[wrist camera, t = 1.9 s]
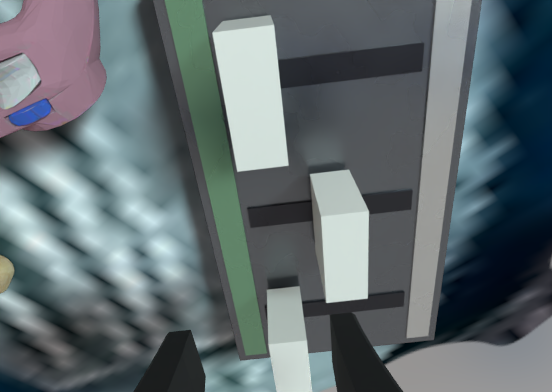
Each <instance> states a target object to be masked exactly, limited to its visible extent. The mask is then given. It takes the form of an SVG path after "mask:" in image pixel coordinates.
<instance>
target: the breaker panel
mask: <svg viewBox="0 0 552 392" xmlns="http://www.w3.org/2000/svg"><path fill="white" fill-rule="evenodd" d="M153 3H154V7H155V11H156V15H157V19H158V23H159V28H160V32H161V36H162V40H163V44H164V48H165V52H166V56H167V61H168V65H169V69H170V73H171V77H172V81H173V85H174V89H175V94H176V98H177V102H178V106H179V110H180V114H181V118H182V122H183V127H184V131H185V135H186V139H187V143H188V147H189V151H190V155H191V160H192V164H193V168H194V172H195V176H196V180H197V184H198V189H199V193H200V197H201V201H202V205H203V209H204V213H205V217H206V222H207V226H208V230H209V234H210V238H211V242H212V246H213V250H214V255H215V259H216V263H217V267H218V271H219V275H220V279H221V283H222V288H223V292H224V296H225V300H226V304H227V308H228V312H229V316H230V321H231V325H232V329H233V333H234V337H235V341H236V345H237V349H238V354H239V358H240V361H241V360H250V359H260V358H269V357H270V351H269V346H268V313H267V290H270V289H279V288H288V287H297V286H300V293H301V301H302V308H303V316H304V323H305V331H306V338H307V347H308V353H316V352H325V351H332V347H331V330H330V315H331V314H340V313H350V312H352V313H353V314H355V315H356V317H357V319H358V321H359V323H360V325H361V327H362V329H363V331H364V333H365V335H366V336H367V338H368V340H369V341H370V343H371V345H372V346H381V345H390V344H399V343H409V342H418V341H427V340H434V335H435V328H436V321H437V313H438V306H439V299H440V292H441V285H442V278H443V271H444V264H445V257H446V250H447V243H448V236H449V229H450V222H451V215H452V208H453V201H454V194H455V187H456V180H457V173H458V165H459V158H460V151H461V144H462V137H463V130H464V123H465V116H466V109H467V102H468V95H469V88H470V81H471V74H472V67H473V60H474V53H475V46H476V39H477V32H478V25H479V17H480V10H481V3H482V0H153ZM267 15H271V18H272V20H273V23H274V29H275V39H276V48H277V58H278V68H279V77H280V87H281V97H282V106H283V116H284V125H285V135H286V145H287V154H288V164H289V166H282V167H273V168H265V169H256V170H248V171H239V172H237V168H236V162H235V156H234V151H233V145H232V140H231V134H230V129H229V123H228V117H227V112H226V106H225V101H224V95H223V90H222V84H221V79H220V73H219V67H218V62H217V56H216V51H215V45H214V40H213V34H212V32H213V31H214V30H215V29H216V28H217V27H218V26H219V25H220V23H221V22H222V21H228V20H236V19H244V18H252V17H260V16H267ZM341 170H349V171H350V173H351V175H352V177H353V179H354V181H355V183H356V185H357V187H358V189H359V191H360V194H361V196H362V198H363V200H364V202H365V204H366V206H367V208H368V210H369V239H368V299H359V300H350V301H341V302H331V303H326V299H325V294H324V289H323V285H322V280H321V275H320V270H319V266H318V261H317V256H316V251H315V237H314V224H313V210H312V197H311V183H310V174H315V173H323V172H332V171H341Z"/></svg>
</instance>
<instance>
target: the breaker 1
mask: <svg viewBox="0 0 552 392" xmlns="http://www.w3.org/2000/svg"><path fill="white" fill-rule="evenodd" d="M212 34H213V40H214V45H215V51H216V56H217V62H218V67H219V73H220V79H221V84H222V90H223V95H224V101H225V106H226V112H227V117H228V123H229V129H230V134H231V140H232V145H233V151H234V156H235V162H236V168H237V172H239V171H248V170H256V169H265V168H273V167H282V166H289V164H288V154H287V145H286V135H285V125H284V116H283V106H282V97H281V87H280V77H279V68H278V58H277V48H276V39H275V29H274V23H273V20H272V18H271V15H267V16H260V17H252V18H244V19H236V20H228V21H222V22H221V23H220V25H219V26H218V27H217V28H216V29H215V30H214V31H213V32H212Z"/></svg>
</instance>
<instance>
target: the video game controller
mask: <svg viewBox="0 0 552 392" xmlns="http://www.w3.org/2000/svg"><path fill="white" fill-rule="evenodd" d="M99 57H100V27H99V8H98V0H24V1H23V6H22V10H21V12H20V13H19V14H18V15H17V16H16V17H15V18H13V19H11V20H9V21H7V22H4V23H1V24H0V138H1V137H4V136H6V135H9V134H11V133H14V132H16V131H18V130H21V129H24V130H29V131H43V130H49V129H52V128H56V127H59V126H62V125H64V124H66V123H68V122H70V121H72V120H74V119H75V118H77V117H79V116H80V115H81V114H83V113H84V112H85V111H86V110H88V109H89V108H90V107H91V106H92V105H93V104H94V103H95V102H96V101H97V99H98V98H99V97H100V95H101V93H102V92H103V90H104V87H105V84H106V78H107V76H106V70H105V68H104V67H103V65H102V63H101V61H100V59H99Z"/></svg>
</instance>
